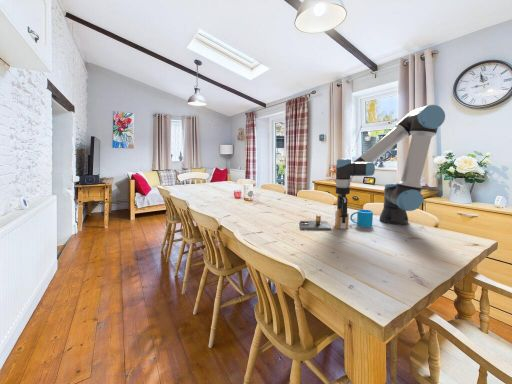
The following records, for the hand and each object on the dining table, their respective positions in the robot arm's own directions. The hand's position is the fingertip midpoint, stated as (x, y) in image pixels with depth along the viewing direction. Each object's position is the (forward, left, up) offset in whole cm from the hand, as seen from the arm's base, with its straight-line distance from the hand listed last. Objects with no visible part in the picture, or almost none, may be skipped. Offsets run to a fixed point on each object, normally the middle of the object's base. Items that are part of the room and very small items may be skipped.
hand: (341, 226), depth 139 cm
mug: (-12, -5, -1) cm, 13 cm away
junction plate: (+15, 0, 0) cm, 15 cm away
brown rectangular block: (0, 0, 0) cm, 0 cm away
